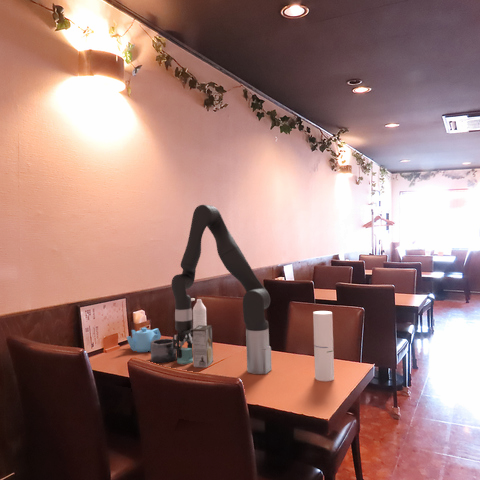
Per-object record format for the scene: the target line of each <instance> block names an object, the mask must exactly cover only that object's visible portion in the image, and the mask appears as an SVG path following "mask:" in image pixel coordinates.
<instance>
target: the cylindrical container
mask: <svg viewBox="0 0 480 480" xmlns="http://www.w3.org/2000/svg"><path fill="white" fill-rule="evenodd" d="M312 316H313V319H312V320H313V350H314V351H313V352H314V379H315V380H317V381H320V382H330V381H333V380H335V366H334V365H335V362H334V361H335V360H334V359H335V358H334V357H335V356H334V332H333V331H334V328H333V327H334V326H333V325H334V324H333V312H332V311H330V310H329V311H328V310H317V311H313V312H312Z"/></svg>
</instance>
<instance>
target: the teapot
mask: <svg viewBox="0 0 480 480" xmlns="http://www.w3.org/2000/svg"><path fill="white" fill-rule="evenodd" d="M130 331H131V335H130V336H126V339H127V342H128V345H129V347H130V349H131V351H132V352H134V351H137V352H136V353H148V351H149V352H151V342H152V341H154V340H159V339H162V338H161V337H162V334H161V332H160V330H159V328H154V329H148V328H147V327H145V326H144V327H141V329H140V330H137V331H136V330H135V329H131V330H130Z"/></svg>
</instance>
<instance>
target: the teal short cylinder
mask: <svg viewBox="0 0 480 480" xmlns="http://www.w3.org/2000/svg"><path fill="white" fill-rule="evenodd" d="M192 348H193V347H192ZM192 348H187V347H183V346H182V358H177V357H176V363H177V364H179V365H189V364H191V363H194V361H193V350H192Z"/></svg>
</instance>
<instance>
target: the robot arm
mask: <svg viewBox="0 0 480 480" xmlns="http://www.w3.org/2000/svg"><path fill="white" fill-rule="evenodd" d="M206 229H208V230H209V231H210V233H211V234H212V236H213V238H214V240H215V243H216V251H217V255H218V257H219V259H220V261H221V262H222V264H223V265H224V267H225V269H226V270H227V271H228V272H229V273H230V274H231V275H232V277H234V279H236V280H238V282H239V283H241V286H243V288H244V290H245V293H244V296H242V297H243V298H242V311H243V312H242V314H243V322H244V325H245V336H246V337H245V342H246V343H245V344H246V371H247V373H250V374H253V375H262V374H263V375H267V374H268V373H269V372H270V371H271V370H272V347H271V346H270V334H269V333H270V332H269V330H270V329H269V328H270V327H269V321H268V320H266V318H265V317H266V316H265V310H266V309H268V308H269V307H270V304H271V297H270V294H269V292H268V290H267V289H266V287H265V286H264V285H263V284H262V282H261V281H260V280H259V278H258V277H257V276H256V274H255V272H254V270H253V269H252V267H251V266H250V264H249V262H248V260H247V259H246V257H245V254H244V253H243V251H242V250H241V248H240V246H239V245H238V244H237V242H236V241H235V239H234V237H233V235H232V234H231V232H230V231H229V229H228V227H227V224H225V220H224V219H223V217H222V214H221V213H220V210H219V209H218V208H217V207H215V206H214V205H209V204H199V205H197V206H196V208H194V210H193V215H192V218H191V225H190V230H189V234H188V239H187V243H186V246H185V251H184V253H183V255H182V259H181V261H180V267H181V269H182V272H181V273H179V274H175V275H174V276H173V278H172V279H171V290H172V294H173V298H174V301H175V303H174V304H175V305H174V306H175V312H174V323H175V324H174V325H175V326H174V327H175V330H176V331H177V334H173V335H172V339H173V349H176V359H177V358H182V347H183V346H184V345H185V343H187V345H186V346H187V347H186V348H192V351H193V334H192V330H193V309H192V301H191V296H190V295H189V294H187V290H188V289H190V288H191V287H192V286H193V284H195V283H194V282H195V279H196V269H197V267H198V263H199V260H200V257H201V253H202V238H203V234H204V231H205V230H206ZM175 343H176V346H175Z"/></svg>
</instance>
